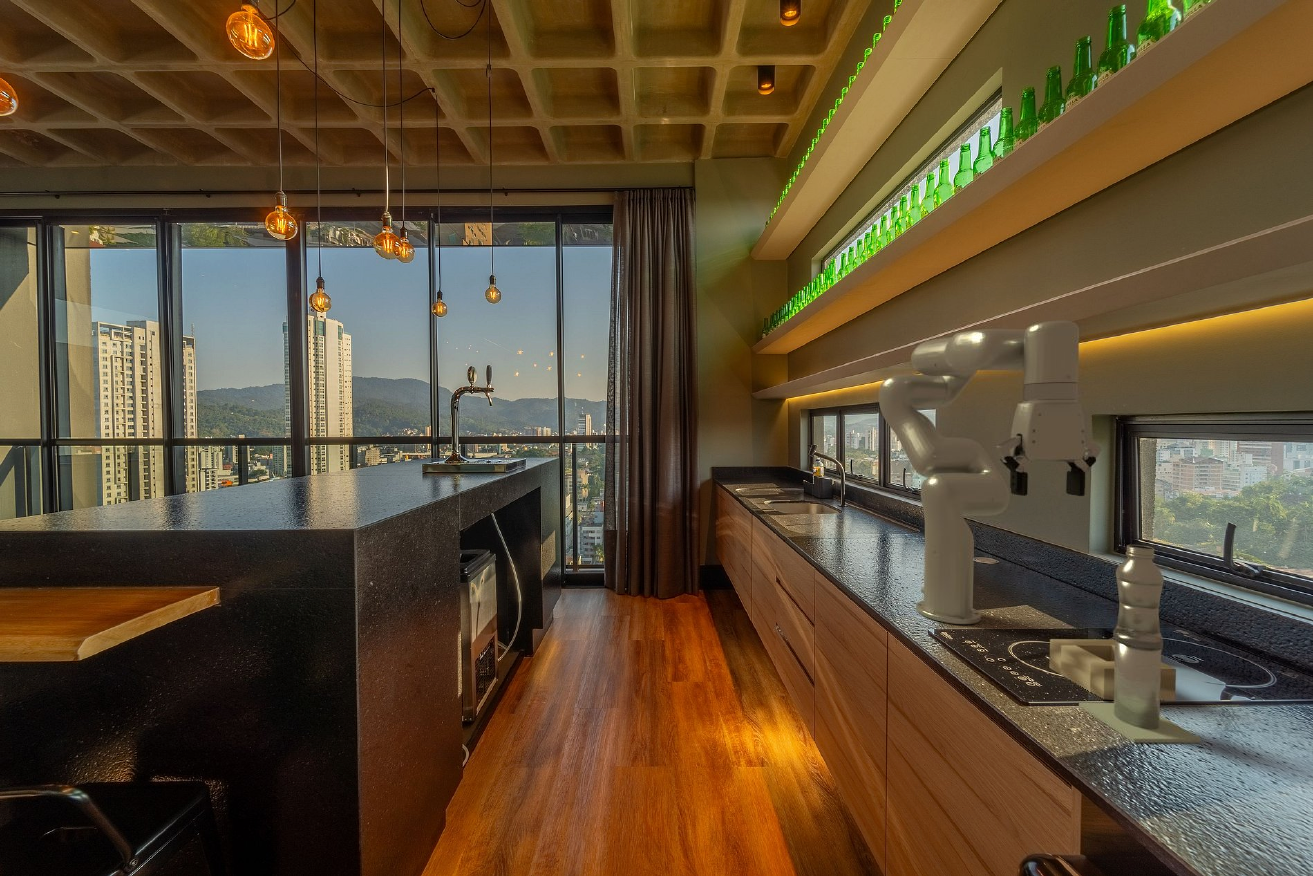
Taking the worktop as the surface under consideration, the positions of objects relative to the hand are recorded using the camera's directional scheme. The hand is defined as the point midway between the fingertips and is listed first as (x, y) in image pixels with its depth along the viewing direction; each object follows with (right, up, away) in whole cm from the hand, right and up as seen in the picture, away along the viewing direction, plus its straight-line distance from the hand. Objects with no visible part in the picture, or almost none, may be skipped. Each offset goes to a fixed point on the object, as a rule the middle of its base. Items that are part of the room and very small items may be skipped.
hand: (1047, 494), depth 90 cm
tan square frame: (+7, -30, -4) cm, 31 cm away
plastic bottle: (+22, -31, +7) cm, 38 cm away
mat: (+1, -31, -16) cm, 35 cm away
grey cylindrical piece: (+1, -30, -16) cm, 34 cm away
